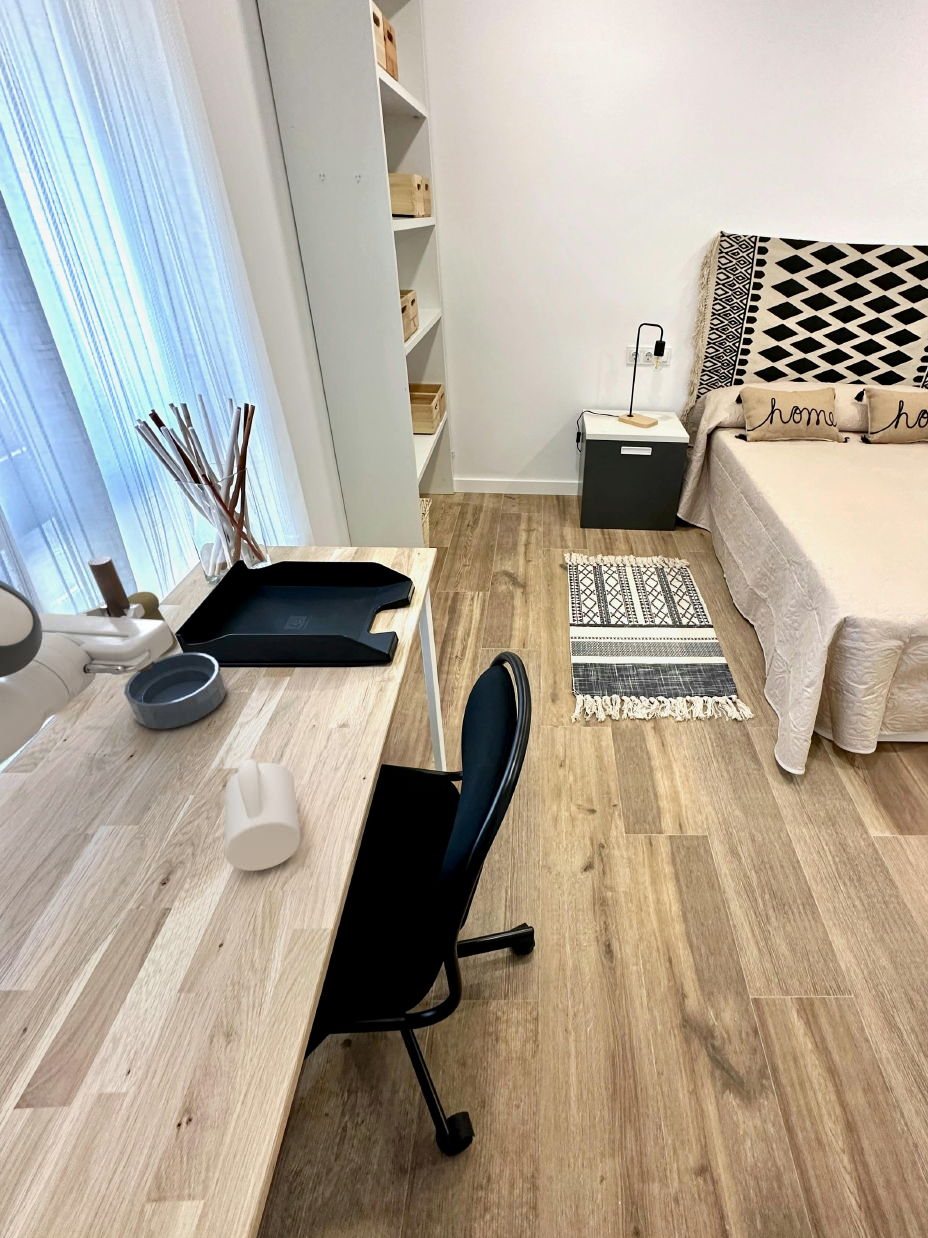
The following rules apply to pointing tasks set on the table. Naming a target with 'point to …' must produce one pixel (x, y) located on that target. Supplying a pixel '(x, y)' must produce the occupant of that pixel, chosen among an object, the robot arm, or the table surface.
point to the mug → (260, 816)
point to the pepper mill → (150, 609)
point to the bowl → (176, 690)
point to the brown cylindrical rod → (111, 589)
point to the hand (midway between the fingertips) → (124, 606)
